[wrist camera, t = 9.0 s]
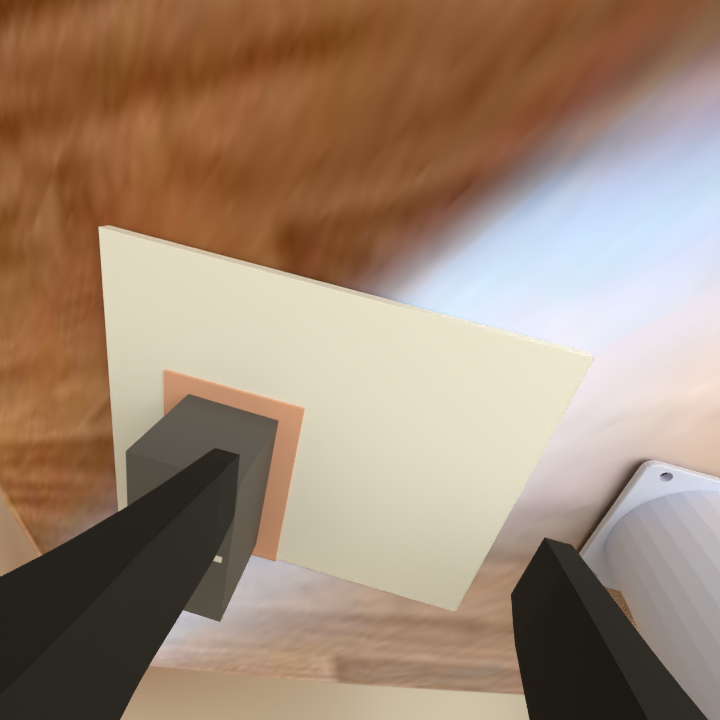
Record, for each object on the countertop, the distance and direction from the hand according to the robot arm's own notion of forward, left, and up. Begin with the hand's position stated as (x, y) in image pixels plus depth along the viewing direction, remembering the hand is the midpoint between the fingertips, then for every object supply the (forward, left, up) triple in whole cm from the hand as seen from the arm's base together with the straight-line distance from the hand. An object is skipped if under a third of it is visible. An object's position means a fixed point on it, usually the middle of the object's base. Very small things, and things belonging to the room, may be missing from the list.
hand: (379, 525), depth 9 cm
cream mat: (+3, +6, -9) cm, 12 cm away
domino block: (+7, +9, -9) cm, 14 cm away
